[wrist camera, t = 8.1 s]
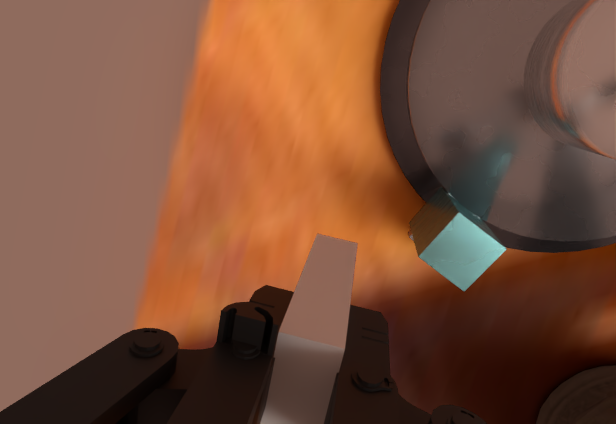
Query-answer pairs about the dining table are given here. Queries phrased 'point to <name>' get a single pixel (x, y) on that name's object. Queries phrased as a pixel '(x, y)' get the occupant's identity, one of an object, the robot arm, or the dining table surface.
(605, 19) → the cover
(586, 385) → the beer stein
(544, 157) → the turntable
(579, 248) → the base plate
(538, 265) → the dining table surface
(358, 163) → the dining table surface
